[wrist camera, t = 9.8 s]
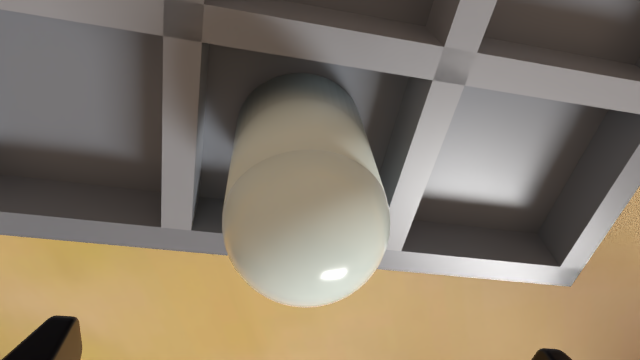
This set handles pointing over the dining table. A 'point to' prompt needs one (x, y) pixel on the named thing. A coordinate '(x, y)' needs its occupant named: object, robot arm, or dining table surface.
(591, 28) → the tray
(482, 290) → the dining table surface
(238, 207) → the glossy white capsule
